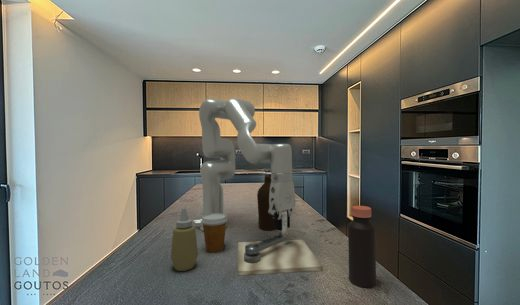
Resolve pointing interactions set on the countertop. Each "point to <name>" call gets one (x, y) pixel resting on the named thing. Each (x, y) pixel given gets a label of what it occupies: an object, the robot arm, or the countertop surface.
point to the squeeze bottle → (184, 244)
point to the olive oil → (265, 205)
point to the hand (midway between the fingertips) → (282, 227)
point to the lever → (255, 248)
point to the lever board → (278, 259)
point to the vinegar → (362, 248)
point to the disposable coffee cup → (214, 231)
